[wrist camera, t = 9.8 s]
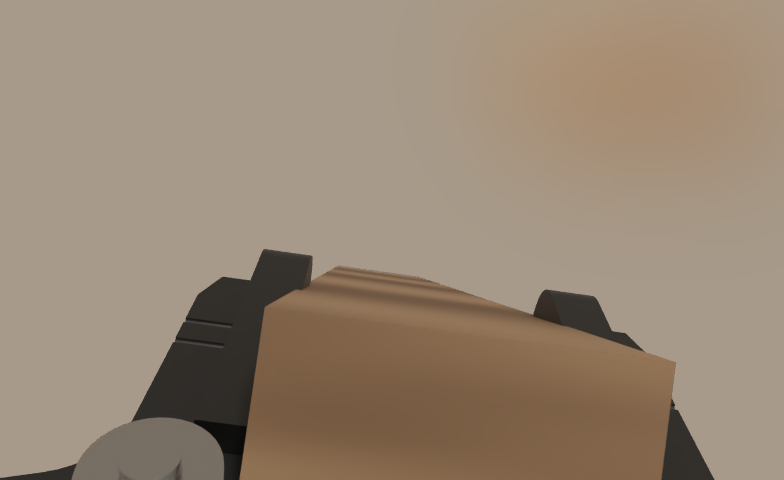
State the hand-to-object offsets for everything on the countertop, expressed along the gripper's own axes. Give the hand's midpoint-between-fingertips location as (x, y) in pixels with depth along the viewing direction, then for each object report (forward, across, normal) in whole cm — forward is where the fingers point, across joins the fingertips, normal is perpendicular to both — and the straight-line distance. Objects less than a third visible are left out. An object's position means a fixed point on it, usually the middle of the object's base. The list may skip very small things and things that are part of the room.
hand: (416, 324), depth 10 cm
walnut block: (+5, 0, +6) cm, 8 cm away
